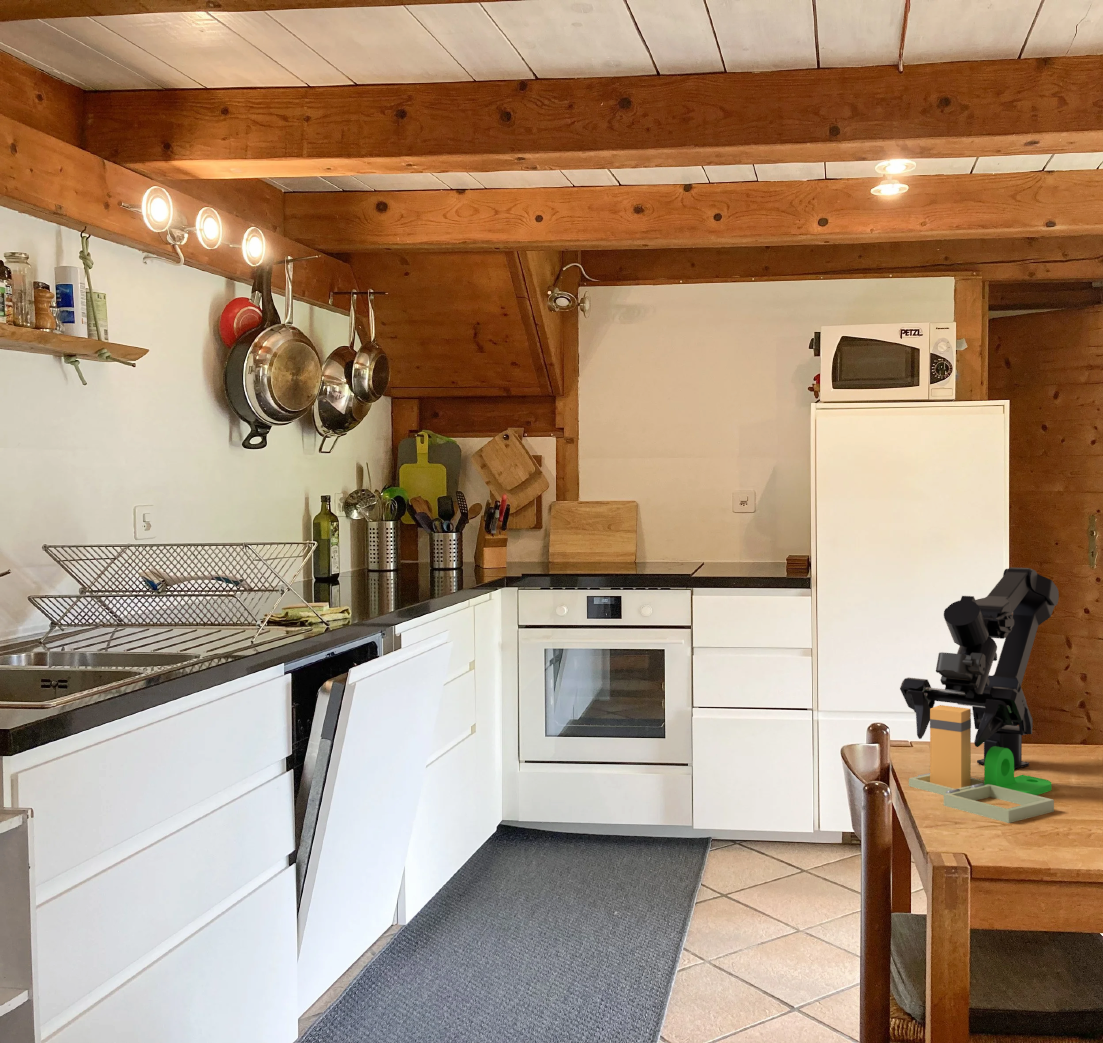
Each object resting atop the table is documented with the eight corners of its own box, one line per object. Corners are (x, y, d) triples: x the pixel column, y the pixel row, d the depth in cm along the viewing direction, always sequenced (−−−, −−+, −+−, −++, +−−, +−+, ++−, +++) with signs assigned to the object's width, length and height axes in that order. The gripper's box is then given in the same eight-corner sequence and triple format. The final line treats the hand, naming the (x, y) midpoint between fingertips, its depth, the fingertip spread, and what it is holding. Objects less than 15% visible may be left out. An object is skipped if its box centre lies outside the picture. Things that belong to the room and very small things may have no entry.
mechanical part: (1020, 807, 166) (1021, 755, 166) (984, 799, 171) (984, 748, 171) (1058, 794, 174) (1058, 744, 174) (1022, 786, 179) (1022, 738, 178)
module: (939, 784, 177) (939, 705, 177) (970, 789, 174) (970, 708, 173) (929, 788, 174) (929, 708, 174) (961, 794, 171) (961, 712, 170)
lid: (944, 783, 180) (944, 771, 180) (992, 795, 173) (992, 782, 172) (908, 790, 175) (908, 778, 175) (956, 803, 168) (956, 790, 168)
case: (985, 799, 170) (985, 781, 170) (1053, 816, 160) (1053, 798, 160) (940, 809, 164) (940, 791, 164) (1008, 828, 154) (1008, 809, 154)
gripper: (904, 629, 183) (876, 703, 175) (1018, 638, 170) (994, 718, 162) (923, 671, 189) (896, 744, 181) (1034, 682, 176) (1011, 761, 168)
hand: (947, 741), depth 173 cm, fingers open, 9 cm apart
